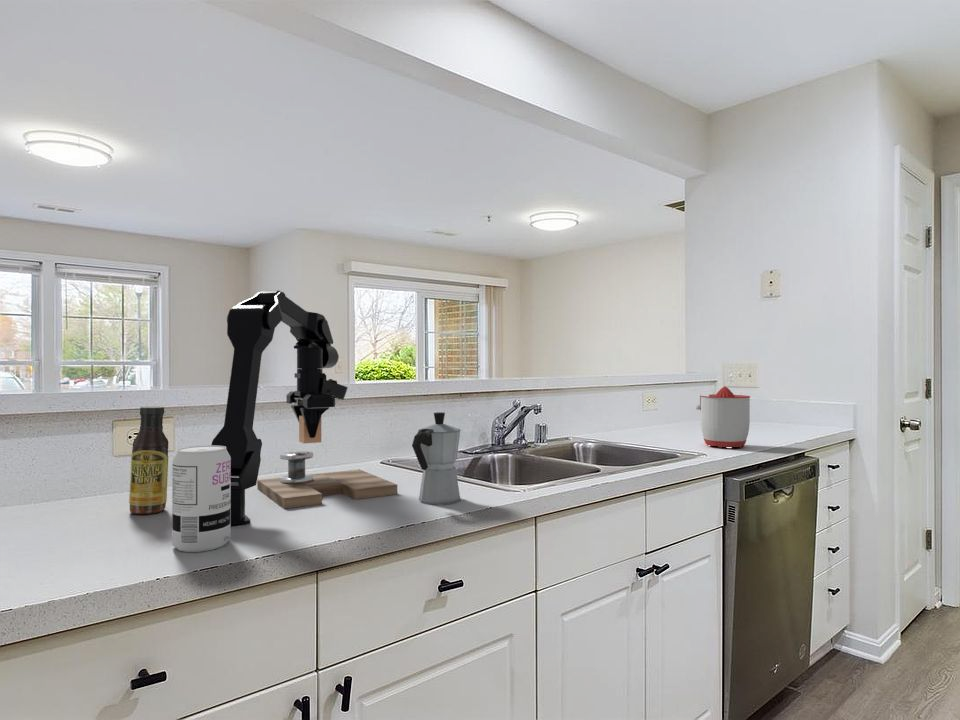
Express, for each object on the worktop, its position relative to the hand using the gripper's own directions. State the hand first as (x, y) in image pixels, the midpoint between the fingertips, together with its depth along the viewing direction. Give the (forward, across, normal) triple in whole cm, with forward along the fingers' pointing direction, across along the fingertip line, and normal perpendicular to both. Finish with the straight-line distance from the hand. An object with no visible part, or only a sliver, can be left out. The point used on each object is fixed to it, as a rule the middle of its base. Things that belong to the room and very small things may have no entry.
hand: (309, 436), depth 141 cm
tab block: (+1, 0, 0) cm, 1 cm away
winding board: (+11, -9, -1) cm, 14 cm away
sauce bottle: (+11, -9, +33) cm, 36 cm away
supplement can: (+11, -37, +28) cm, 48 cm away
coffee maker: (+11, -30, -17) cm, 36 cm away
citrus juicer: (+11, -10, -135) cm, 136 cm away
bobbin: (+9, -5, +4) cm, 11 cm away
